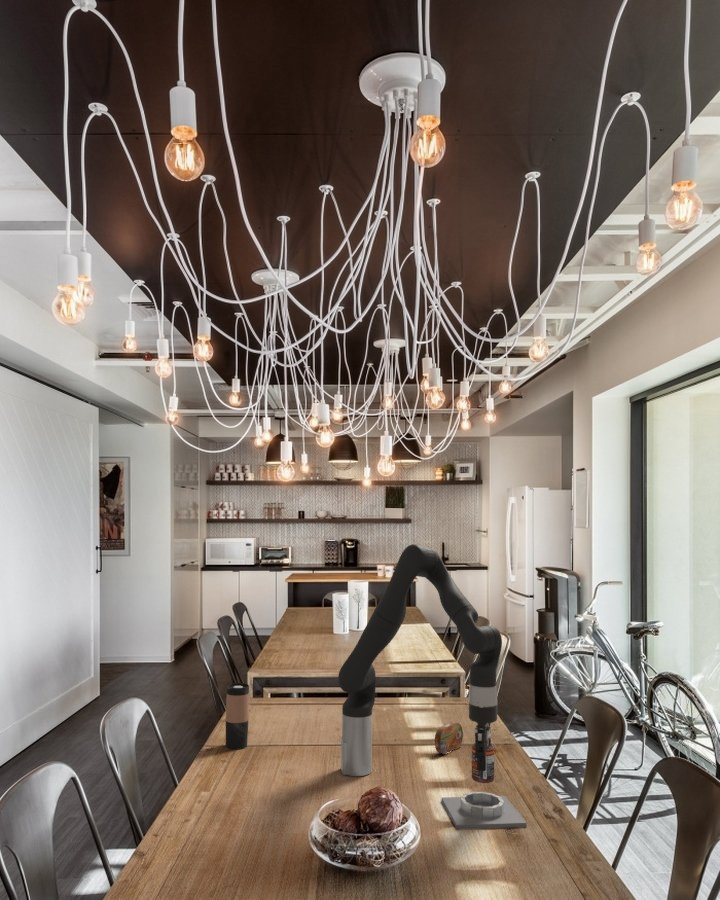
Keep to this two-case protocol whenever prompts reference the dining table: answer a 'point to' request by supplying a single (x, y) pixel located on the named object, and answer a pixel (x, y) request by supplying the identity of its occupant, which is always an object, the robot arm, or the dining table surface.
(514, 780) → the dining table surface
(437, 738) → the tin
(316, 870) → the dining table surface
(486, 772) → the supplement bottle
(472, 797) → the collar
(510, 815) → the duct base board
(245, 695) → the travel mug
